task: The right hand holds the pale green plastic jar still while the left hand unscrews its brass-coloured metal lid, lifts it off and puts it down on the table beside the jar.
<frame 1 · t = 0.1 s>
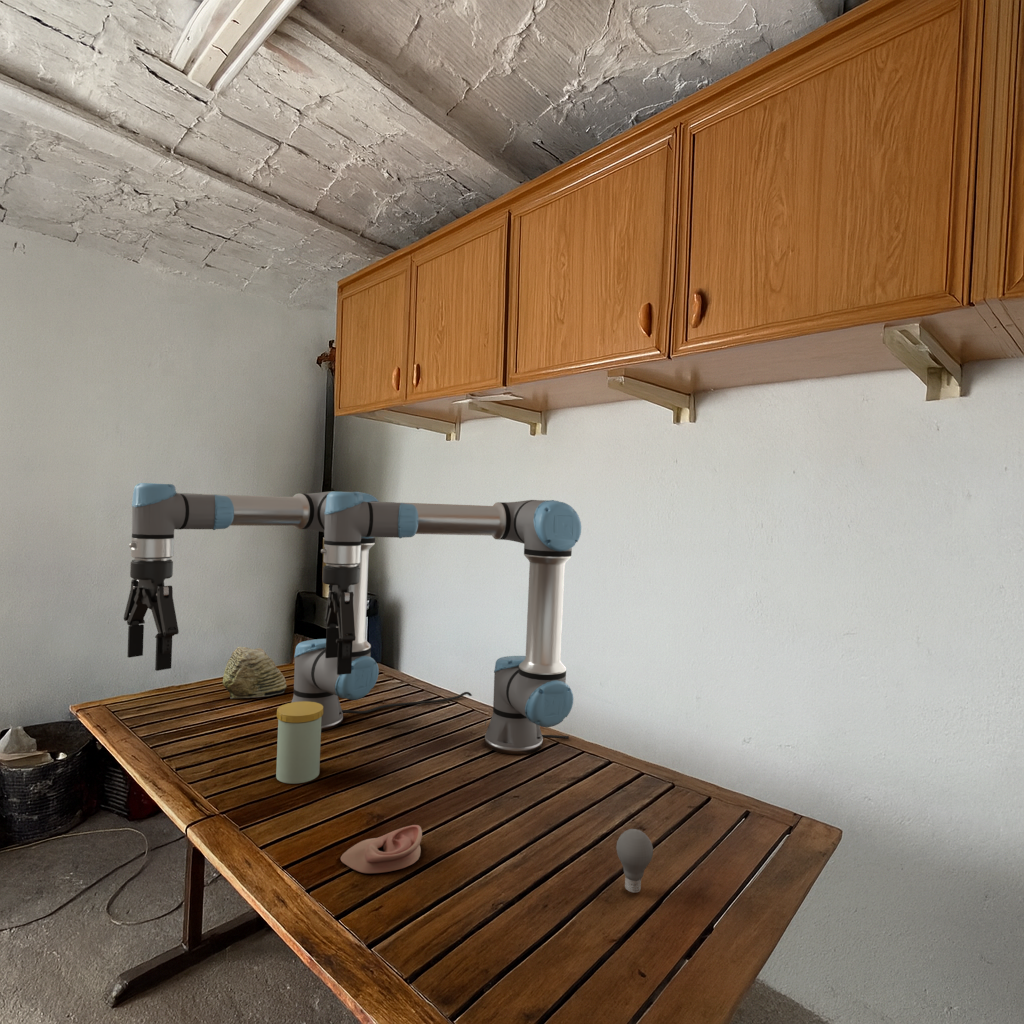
left hand: (148, 662, 129), 28 cm above the table, tool pointing down, fingers open, 13 cm apart
right hand: (337, 665, 134), 28 cm above the table, tool pointing down, fingers open, 13 cm apart
fossil: (254, 694, 198), on the table
jar: (297, 774, 144), on the table
anatomical model: (381, 857, 112), on the table
lid: (300, 709, 144), point 15 cm above the table, screwed on, not yet turned
light bulb: (632, 891, 106), on the table
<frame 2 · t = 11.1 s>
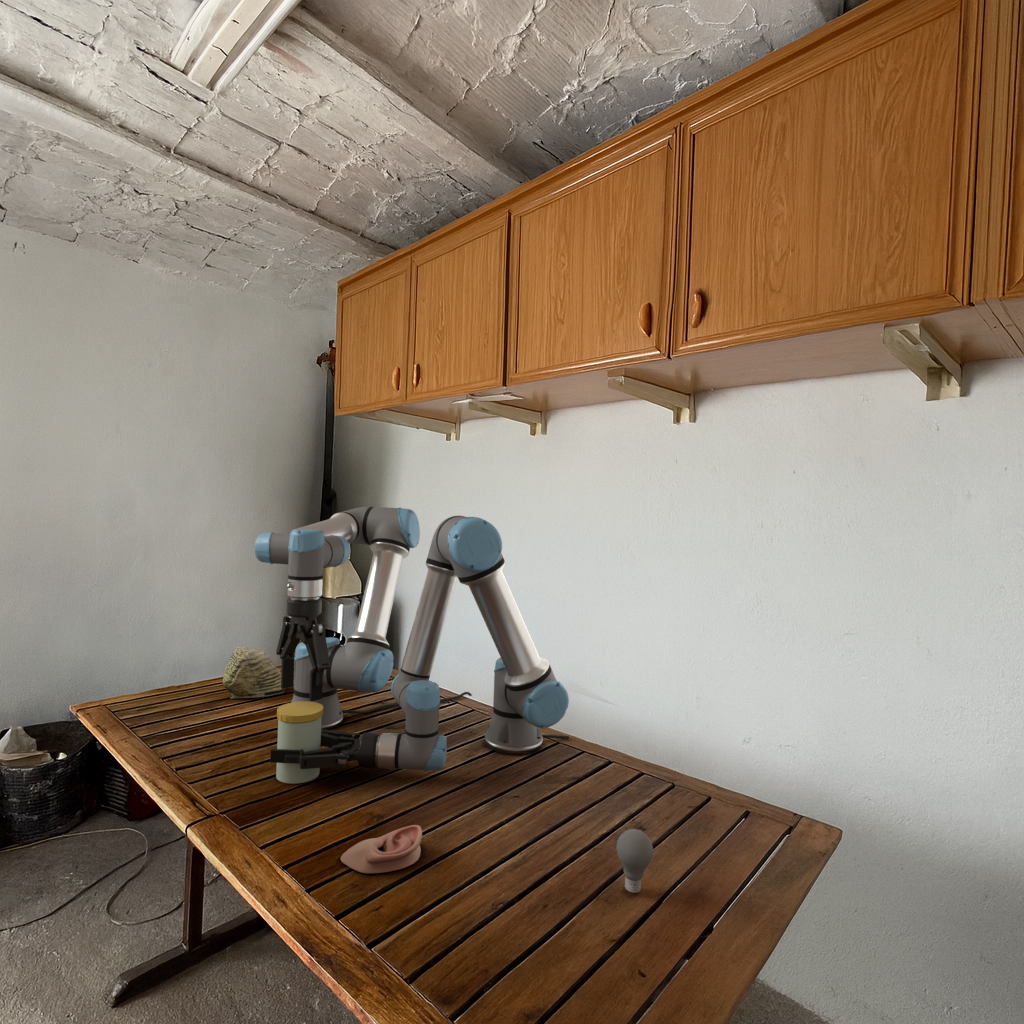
left hand: (301, 693, 143), 19 cm above the table, tool pointing down, fingers open, 11 cm apart
right hand: (279, 746, 144), 6 cm above the table, tool horizontal, fingers closed on jar, 9 cm apart
jar: (298, 774, 144), on the table, touching right hand
everything else where it was.
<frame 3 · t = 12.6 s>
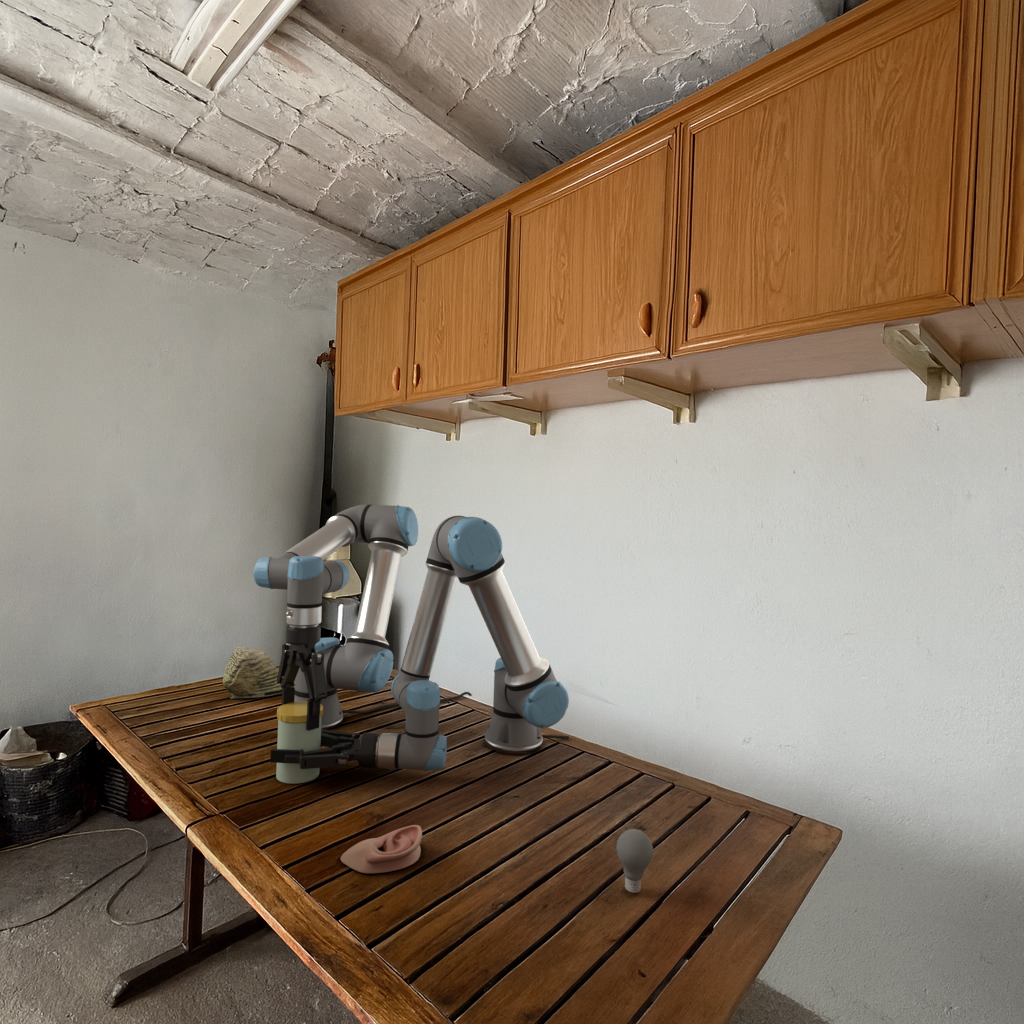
left hand: (299, 722, 144), 12 cm above the table, tool pointing down, fingers closed on lid, 10 cm apart
right hand: (279, 746, 144), 6 cm above the table, tool horizontal, fingers closed on jar, 9 cm apart
jar: (298, 774, 144), on the table, touching right hand
lid: (300, 709, 144), point 15 cm above the table, screwed on, not yet turned, touching left hand
everything else where it was.
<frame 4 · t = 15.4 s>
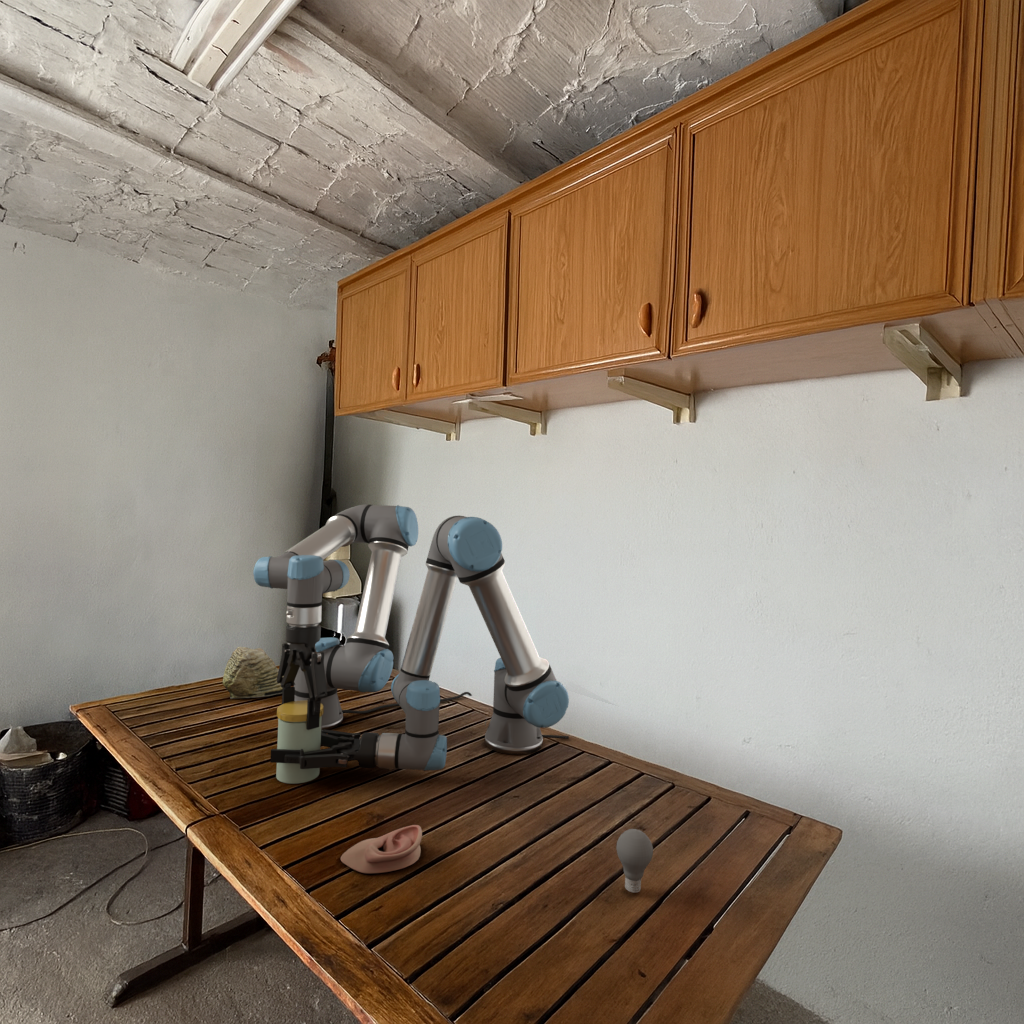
left hand: (299, 721, 144), 12 cm above the table, tool pointing down, fingers closed on lid, 10 cm apart
right hand: (279, 746, 144), 6 cm above the table, tool horizontal, fingers closed on jar, 9 cm apart
jar: (298, 774, 144), on the table, touching right hand
lid: (300, 708, 144), point 15 cm above the table, turned 66° so far, risen 0.2 cm, still on its thread, touching left hand
everything else where it was.
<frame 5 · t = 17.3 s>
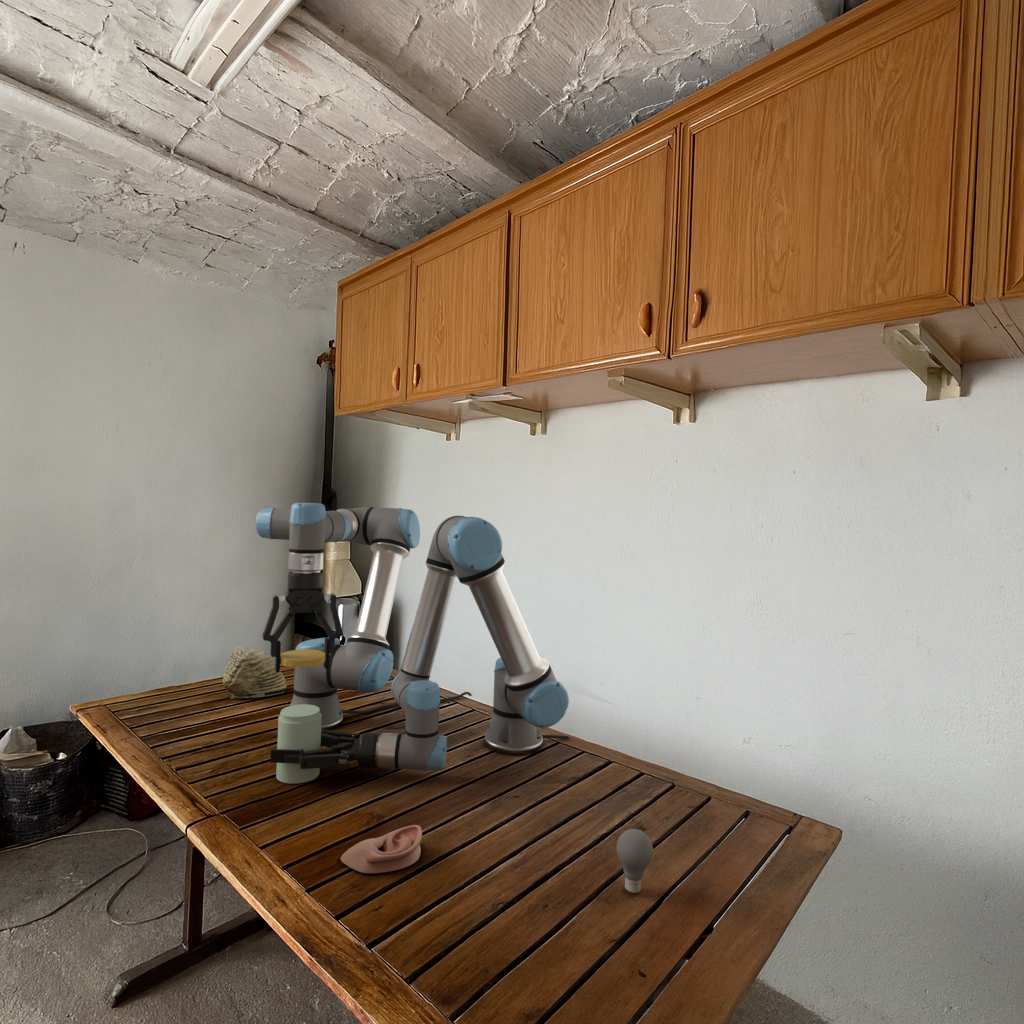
left hand: (302, 669, 143), 24 cm above the table, tool pointing down, fingers closed on lid, 10 cm apart
right hand: (279, 746, 144), 6 cm above the table, tool horizontal, fingers closed on jar, 9 cm apart
jar: (298, 774, 144), on the table, touching right hand
lid: (302, 656, 143), point 27 cm above the table, off its thread, touching left hand
everything else where it was.
when the left hand's fingers open (0 cm above the table, at t = 22.4 s): lid drops 2 cm, point 1 cm above the table.
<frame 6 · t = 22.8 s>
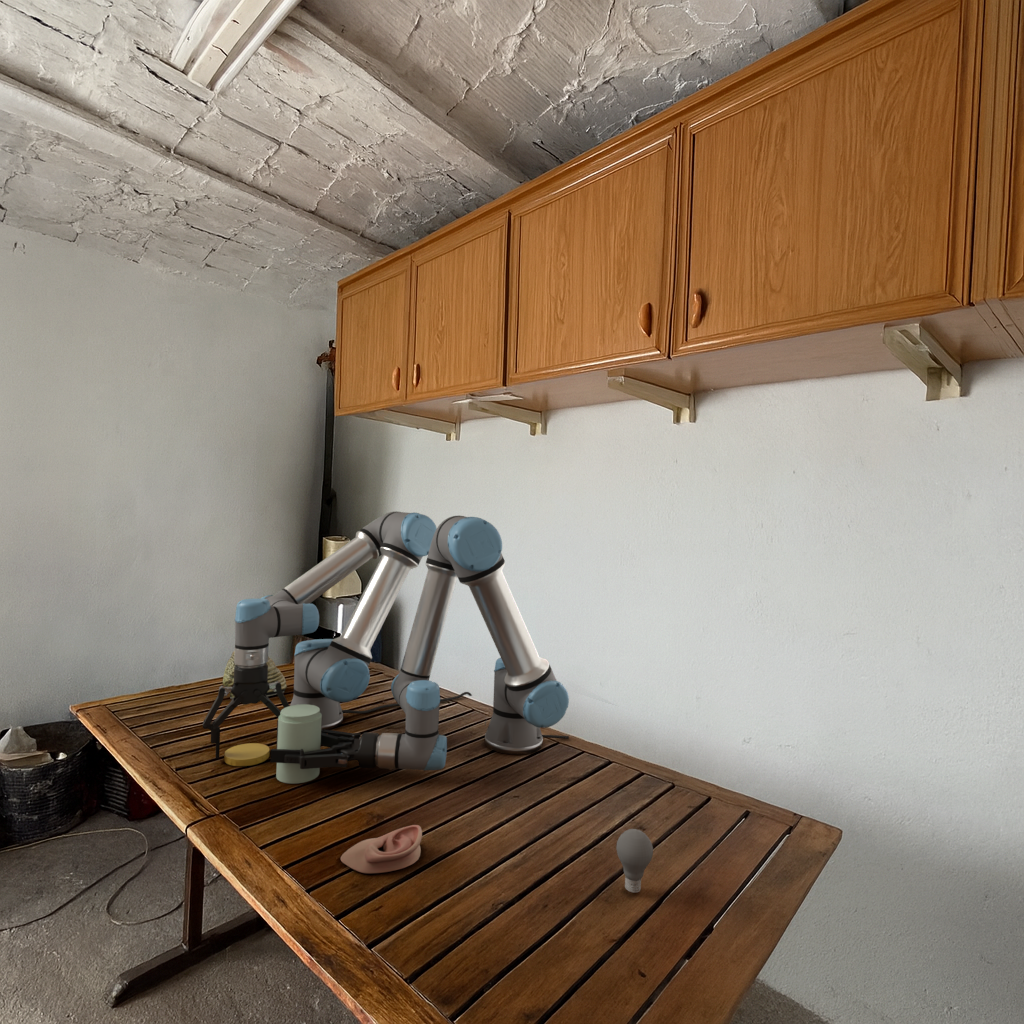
left hand: (248, 752, 152), 1 cm above the table, tool pointing down, fingers open, 13 cm apart
right hand: (279, 746, 144), 6 cm above the table, tool horizontal, fingers closed on jar, 9 cm apart
jar: (298, 774, 144), on the table, touching right hand
lid: (247, 752, 152), point 1 cm above the table, off its thread
everything else where it was.
when the right hand's fingers open (6 cm above the table, at t = 23.5 s): jar stays where it is, on the table.
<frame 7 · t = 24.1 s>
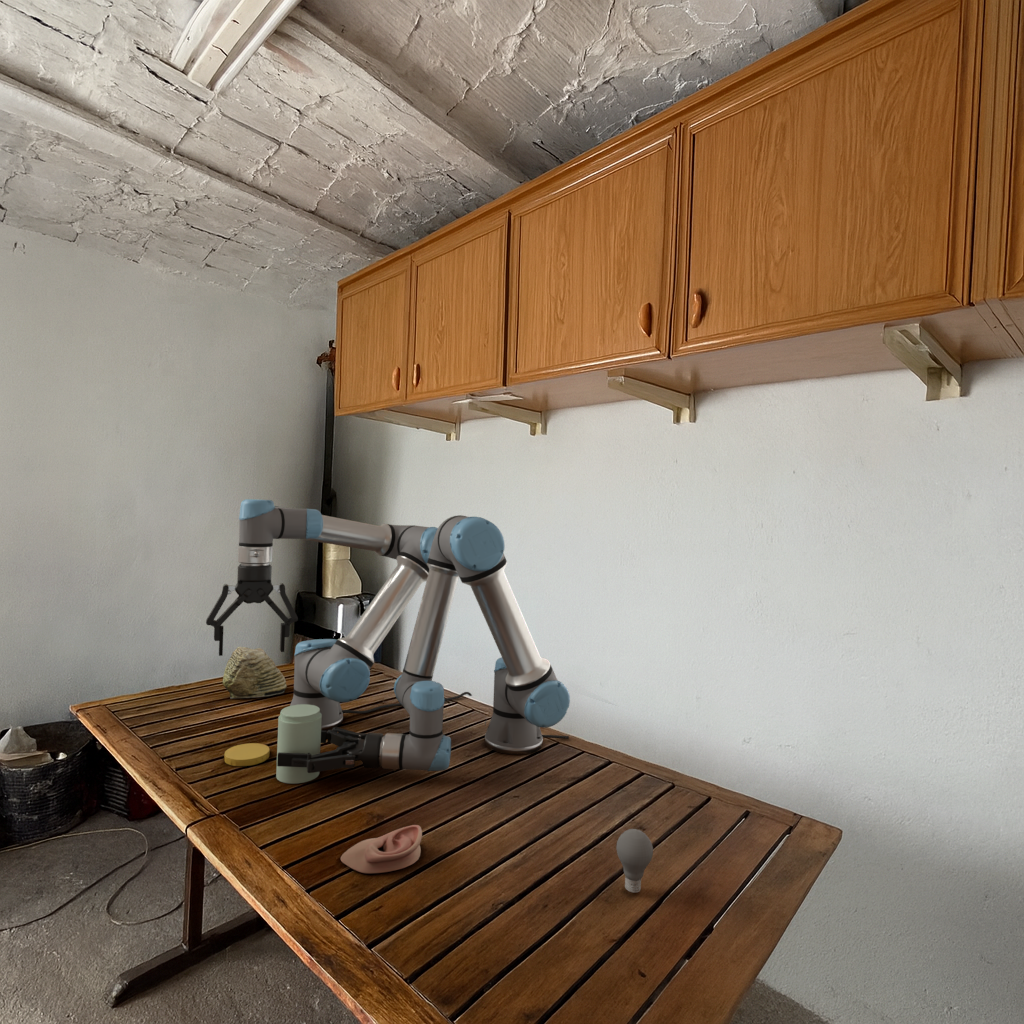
left hand: (251, 652, 151), 25 cm above the table, tool pointing down, fingers open, 13 cm apart
right hand: (288, 747, 144), 6 cm above the table, tool horizontal, fingers open, 13 cm apart
jar: (298, 774, 144), on the table
everything else where it was.
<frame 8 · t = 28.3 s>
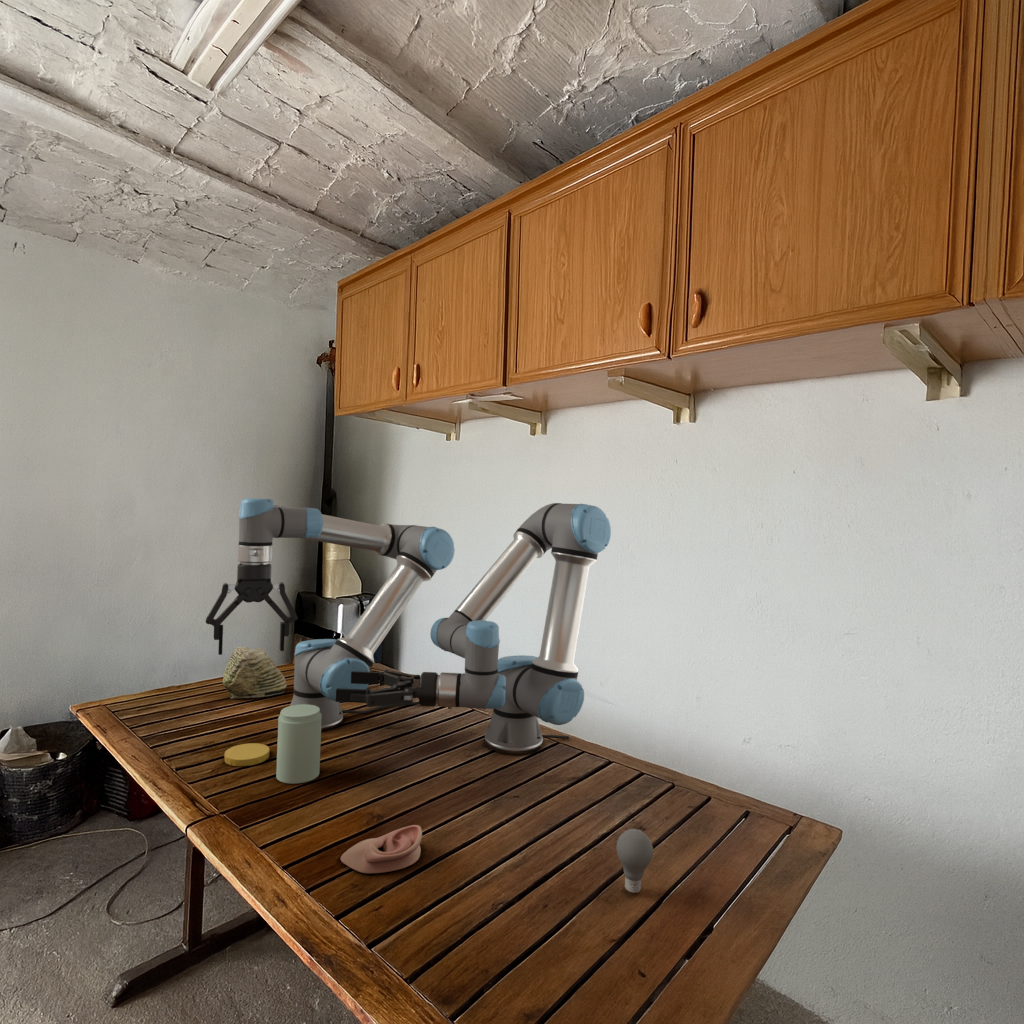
left hand: (251, 651, 151), 26 cm above the table, tool pointing down, fingers open, 13 cm apart
right hand: (343, 685, 144), 21 cm above the table, tool horizontal, fingers open, 13 cm apart
nothing on the table moved.
at the end: lid came off its thread; lid point 1.2 cm above the table; the left hand is holding nothing; the right hand is holding nothing; jar tilted 0°; jar moved 0.0 cm from its start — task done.
